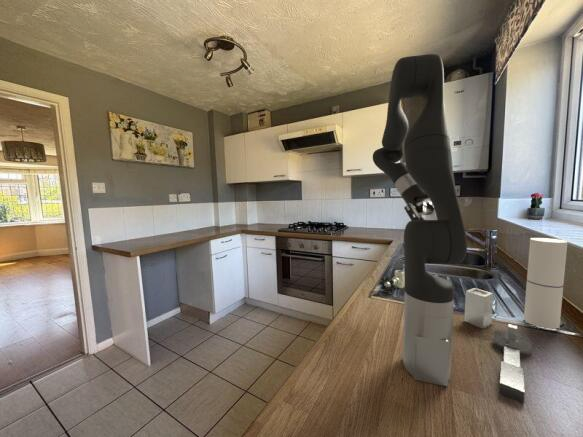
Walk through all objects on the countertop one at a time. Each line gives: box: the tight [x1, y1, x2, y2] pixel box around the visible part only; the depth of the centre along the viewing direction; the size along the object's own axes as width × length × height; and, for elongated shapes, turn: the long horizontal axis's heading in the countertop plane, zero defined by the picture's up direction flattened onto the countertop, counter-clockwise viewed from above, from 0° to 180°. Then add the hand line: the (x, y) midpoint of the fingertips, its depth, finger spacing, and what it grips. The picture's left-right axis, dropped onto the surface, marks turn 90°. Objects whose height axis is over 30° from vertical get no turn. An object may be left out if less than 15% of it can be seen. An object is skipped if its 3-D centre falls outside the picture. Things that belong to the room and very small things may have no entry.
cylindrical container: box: [523, 237, 568, 329], centre depth 68 cm, size 7×7×25 cm
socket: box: [463, 287, 494, 330], centre depth 70 cm, size 5×5×10 cm
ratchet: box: [492, 323, 533, 404], centre depth 53 cm, size 24×7×6 cm, turn 137°
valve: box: [378, 269, 405, 294], centre depth 97 cm, size 7×7×12 cm
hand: (439, 229), depth 73 cm, fingers open, 8 cm apart
